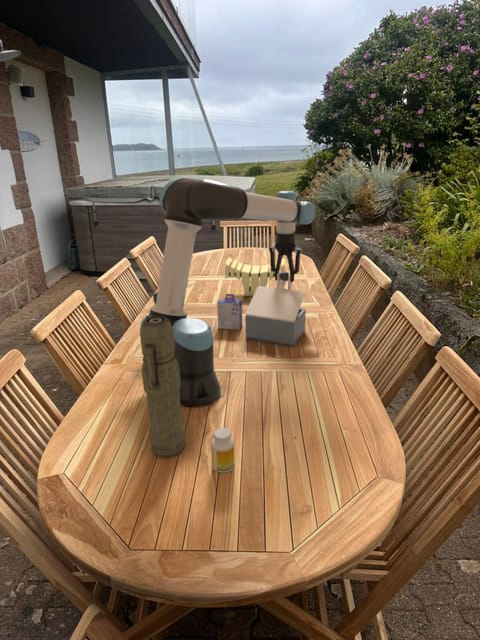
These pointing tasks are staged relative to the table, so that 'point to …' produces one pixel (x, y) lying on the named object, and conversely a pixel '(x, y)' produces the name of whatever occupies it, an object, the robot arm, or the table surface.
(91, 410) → the table surface
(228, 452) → the supplement bottle
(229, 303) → the ink cartridge box
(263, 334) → the carton
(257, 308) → the lid
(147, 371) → the thermos
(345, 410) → the table surface
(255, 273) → the slatted curved stool
